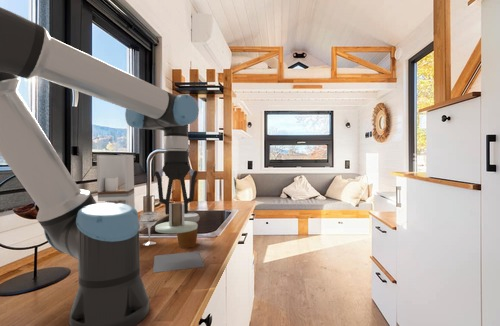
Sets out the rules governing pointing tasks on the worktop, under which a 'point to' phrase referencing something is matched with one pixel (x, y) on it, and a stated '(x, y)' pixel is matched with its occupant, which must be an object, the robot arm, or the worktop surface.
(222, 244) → the worktop surface
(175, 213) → the lid
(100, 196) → the grey box-shaped tower
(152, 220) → the wineglass
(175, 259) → the mat
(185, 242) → the disposable coffee cup
